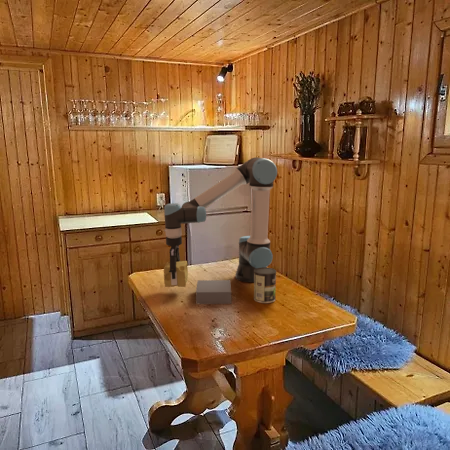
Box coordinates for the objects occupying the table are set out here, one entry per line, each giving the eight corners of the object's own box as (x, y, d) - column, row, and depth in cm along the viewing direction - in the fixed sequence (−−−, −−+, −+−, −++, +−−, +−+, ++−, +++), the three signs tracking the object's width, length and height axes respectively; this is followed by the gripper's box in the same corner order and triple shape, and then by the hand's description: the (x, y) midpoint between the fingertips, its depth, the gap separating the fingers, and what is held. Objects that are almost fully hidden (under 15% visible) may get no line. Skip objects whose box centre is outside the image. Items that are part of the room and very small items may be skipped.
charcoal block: (230, 291, 202) (230, 280, 200) (231, 304, 186) (231, 292, 185) (197, 291, 202) (197, 280, 200) (196, 304, 186) (195, 292, 185)
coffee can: (276, 295, 195) (277, 267, 192) (274, 304, 185) (275, 274, 182) (255, 294, 197) (255, 266, 194) (252, 302, 187) (252, 273, 184)
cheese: (186, 287, 192) (185, 267, 190) (163, 287, 192) (162, 267, 190) (188, 279, 202) (187, 260, 200) (166, 280, 202) (165, 260, 200)
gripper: (169, 231, 203) (171, 273, 208) (161, 242, 181) (164, 289, 186) (184, 230, 203) (186, 273, 208) (178, 242, 181) (180, 289, 186)
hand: (175, 280), depth 197 cm, fingers closed on cheese, 10 cm apart
